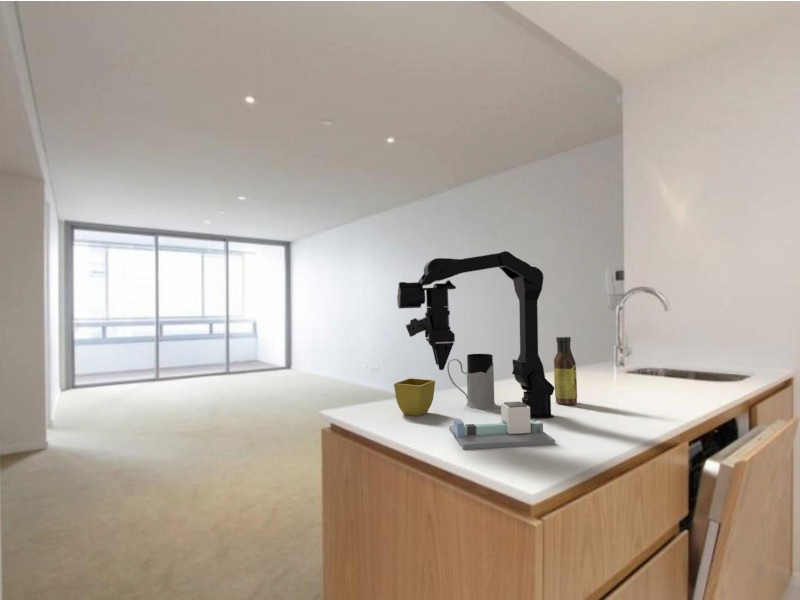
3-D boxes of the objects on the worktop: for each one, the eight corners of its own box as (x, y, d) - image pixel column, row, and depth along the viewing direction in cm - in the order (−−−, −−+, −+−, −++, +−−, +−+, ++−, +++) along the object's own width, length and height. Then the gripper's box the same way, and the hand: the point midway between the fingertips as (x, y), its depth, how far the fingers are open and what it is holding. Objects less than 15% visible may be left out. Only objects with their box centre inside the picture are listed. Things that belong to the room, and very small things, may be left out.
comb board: (529, 425, 106) (528, 409, 106) (554, 444, 92) (554, 425, 92) (449, 430, 104) (448, 413, 104) (463, 449, 90) (462, 430, 90)
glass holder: (495, 409, 123) (493, 357, 123) (445, 407, 127) (444, 356, 127) (496, 402, 131) (495, 353, 131) (450, 400, 135) (449, 353, 135)
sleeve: (522, 426, 101) (521, 400, 101) (530, 432, 96) (529, 405, 96) (501, 427, 101) (500, 401, 101) (508, 433, 96) (508, 406, 96)
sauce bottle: (580, 405, 125) (579, 337, 126) (559, 405, 125) (557, 337, 126) (572, 400, 132) (570, 335, 132) (551, 400, 132) (550, 336, 132)
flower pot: (421, 419, 114) (420, 385, 114) (393, 415, 119) (393, 382, 119) (436, 412, 122) (435, 380, 122) (410, 408, 126) (409, 378, 126)
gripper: (406, 308, 121) (408, 363, 121) (407, 308, 103) (409, 374, 103) (445, 306, 121) (447, 361, 121) (453, 307, 103) (456, 372, 103)
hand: (439, 367), depth 112 cm, fingers open, 9 cm apart
